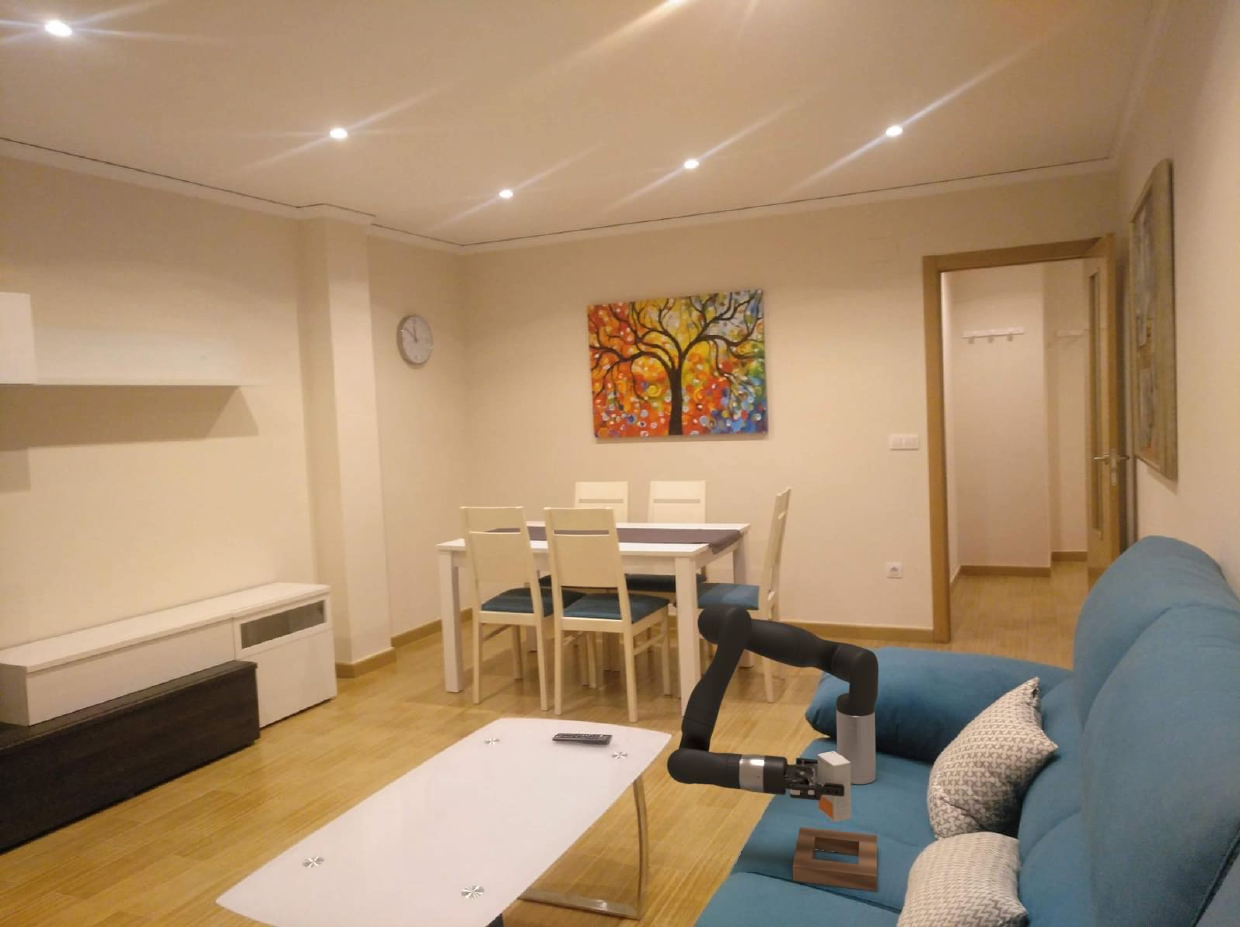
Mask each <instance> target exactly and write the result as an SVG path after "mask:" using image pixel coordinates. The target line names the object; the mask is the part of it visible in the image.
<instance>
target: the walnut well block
mask: <svg viewBox="0 0 1240 927" xmlns="http://www.w3.org/2000/svg"><path fill="white" fill-rule="evenodd" d="M815 849H818V850H824V851H823V852H825V851H834V852H839V853H838V854H843V853H845V855H852V854H853V855H854V856H858V863H850V862H849V863H848V862H839V861H831V860H824V859H823V860H822V859H815V857H816V850H815ZM834 852H833V853H834ZM814 856H815V857H814ZM792 881H793V882H800V883H809V884H817V885H826V886H831V887H841V888H848V889H856V890H865V891H873V892H878V835H877V834H872V833H861V832H851V831H842V830H841V831H840V830H833V829H831V830H830V829H822V828H813V827H806V826H805V827H804V826H799V828H798V835H797V840H796V847H795V852H794V858H793V864H792Z"/></svg>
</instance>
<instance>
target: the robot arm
mask: <svg viewBox="0 0 1240 927" xmlns="http://www.w3.org/2000/svg"><path fill="white" fill-rule="evenodd" d="M697 628H698V631H699V633H700V635H701V636H702V638H703V639H704V640H706V641H707V642H708V643H710V644H712V645H716V650H715V654H714V656H713V658H712V661H711V663H710V665H709V667H708V668H707V669H706V671H705V672H704V674H703V675H702V676H701V678H700V679H699V681H698V682H697V683H696V685H695V686H694V688H693V689H692V691H691V693H690V696H689V698H688V701H687V704H686V707H685V711H684V715H683V719H682V721H681V727H680V729H681V737H680V742H679V745H678V749H675V750H674V751H672V752H671V754H669V757H668V758H667V762H666V768H667V772H668V774H669V776H670V777H671V778H672V779H673V780H674V781H676V782H678V783H680V784H685V785H693V784H696V785H710V786H711V785H712V786H716V787H720V788H724V789H732V790H733V789H734V790H742V791H747V792H750V793H758V794H767V795H768V794H769V795H778V796H785V795H786V794H787V790H789V797H790V798H792V799H799V800H801V799H802V800H811V801H818V800H821V796H825V795H832V796H844V785H843V784H834V783H825V784H824V783H823V782H821V781H818V759H814V758H805V757H796V758H795V763H794V764H789V763H788V758H786V756H778V755H770V754H769V755H767V754H758V753H757V754H756V753H748V754H745V753H744V754H742V753H733V752H712V751H710V746H711V739H712V736H713V734H714V730H715V726H716V723H717V721H718V716H719V713H720V709H721V706H722V702H723V700H724V697H725V694H726V692H727V689H728V687H729V684H730V682H731V680H732V678H733V674H735V671H736V669H737V667H738V664H739V661H740V659H741V657H742V655H743V653H744V651H745V650H747V651H749V652H751V653H754V654H756V655H759V656H761V657H764V658H767V659H769V660H772V661H775V662H777V663H779V664H783V665H787V666H790V667H795V668H802V669H803V668H805V669H806V668H814V669H818V670H819V671H822V672H824V673H827V674H829V675H831V676H832V677H835V678H836V679H838V680H841V681H843V682H846V683H848V684H849V686H848V692H846V693H842V694H839V695H838V696H837V698H836V701H835V707H836V708H835V709H836V711H835V712H836V713H835V714H836V749H837V750H836V751H837V752H836V753H838V754H839V755H841V756H843V757H844V758H845V759H846V760H848V761H849V762H851V785H852V784H854V785H867V784H871V783H873V782H874V781H875V780H876V778H877V777H876V772H877V771H876V769H877V768H876V717H875V716H876V714H875V712H876V711H875V708H876V704H877V703H876V702H877V699H878V696H879V695H878V693H879V671H880V670H879V660H878V658H877V656H876V653H874V651H872V650H870V649H868V648H865V647H861V646H858V645H855V644H853V643H849V642H841V641H840V642H839V641H834V640H828V639H823V638H821V637H819V636H817V635H816V634H815V633H812V632H811V631H809V630H806V629H805V628H801V627H799V626H796V625H792V624H789V623H786V622H785V623H784V622H781V621H774V620H767V619H758V618H752V616H751V614H750V612H749V611H748V610H747V609H746V608H745V607H744V606H740V605H737V604H728V603H727V604H726V603H725V604H724V603H715V604H710V605H709V606H706V607H705V608H704V609H703V610H701V612H700V613H699V615H698V617H697Z"/></svg>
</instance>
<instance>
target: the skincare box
mask: <svg viewBox="0 0 1240 927" xmlns="http://www.w3.org/2000/svg"><path fill="white" fill-rule="evenodd" d="M817 760H818V764H817V765H818V781H821V782H823V783H824V784H825V783H834V784H843V785H844V796H832V795H825V796H821V800H817V810H818V811H820V812H821V813H823V814H824V815H825V816H826V817H828V818H829V819H830V820H831V821H832V822H833V823H837V822H841V821H845V820H846V821H847V820H849V819H851V818H852V790H851V787H852V783H851V762H849V761H848V760H846V759H845V758H844V757H843V756H841V755H839V754H838V753H837V752H836V751H835V750H832V751H827V752H823V753H819V754H817Z"/></svg>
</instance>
